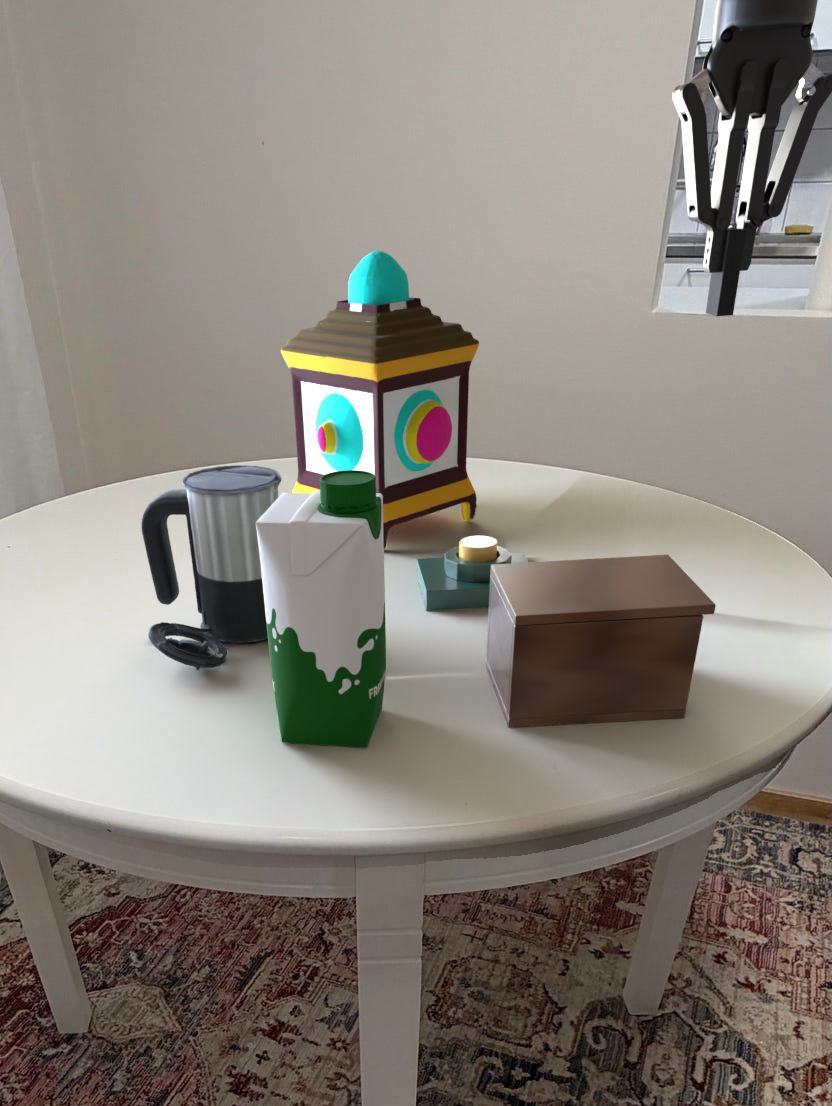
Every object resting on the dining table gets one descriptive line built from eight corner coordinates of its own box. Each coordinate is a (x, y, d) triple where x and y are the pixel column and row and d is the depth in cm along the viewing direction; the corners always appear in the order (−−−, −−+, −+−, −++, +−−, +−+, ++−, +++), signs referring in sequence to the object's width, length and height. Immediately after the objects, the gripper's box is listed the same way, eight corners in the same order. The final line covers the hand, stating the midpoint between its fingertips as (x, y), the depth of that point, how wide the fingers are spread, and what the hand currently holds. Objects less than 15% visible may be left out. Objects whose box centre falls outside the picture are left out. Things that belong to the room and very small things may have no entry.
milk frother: (287, 605, 102) (275, 460, 93) (306, 667, 89) (294, 505, 80) (153, 619, 100) (127, 472, 91) (153, 684, 87) (124, 520, 79)
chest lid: (666, 563, 83) (668, 554, 82) (714, 614, 73) (716, 604, 73) (490, 573, 82) (490, 564, 82) (515, 625, 73) (515, 615, 72)
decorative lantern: (275, 525, 124) (252, 255, 107) (384, 492, 135) (379, 241, 117) (380, 559, 112) (374, 261, 95) (491, 520, 123) (504, 245, 105)
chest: (643, 658, 88) (657, 564, 83) (684, 717, 78) (703, 616, 73) (485, 667, 87) (490, 573, 82) (508, 728, 78) (515, 626, 73)
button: (493, 550, 103) (494, 534, 102) (499, 563, 99) (500, 546, 98) (456, 552, 102) (456, 536, 101) (461, 565, 99) (462, 548, 98)
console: (522, 572, 107) (525, 536, 105) (541, 605, 99) (544, 567, 97) (416, 577, 107) (416, 542, 105) (426, 611, 99) (426, 573, 97)
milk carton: (375, 755, 75) (368, 495, 64) (266, 747, 77) (239, 493, 65) (394, 704, 82) (391, 461, 70) (293, 698, 84) (273, 460, 72)
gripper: (831, -31, 77) (771, 305, 90) (671, -22, 76) (635, 314, 90) (880, -50, 70) (808, 314, 84) (706, -41, 70) (662, 323, 84)
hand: (719, 313), depth 87 cm, fingers closed
